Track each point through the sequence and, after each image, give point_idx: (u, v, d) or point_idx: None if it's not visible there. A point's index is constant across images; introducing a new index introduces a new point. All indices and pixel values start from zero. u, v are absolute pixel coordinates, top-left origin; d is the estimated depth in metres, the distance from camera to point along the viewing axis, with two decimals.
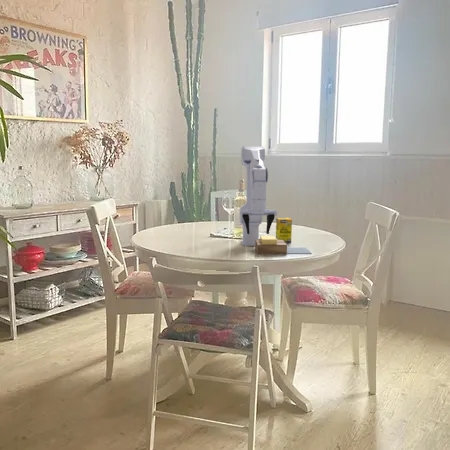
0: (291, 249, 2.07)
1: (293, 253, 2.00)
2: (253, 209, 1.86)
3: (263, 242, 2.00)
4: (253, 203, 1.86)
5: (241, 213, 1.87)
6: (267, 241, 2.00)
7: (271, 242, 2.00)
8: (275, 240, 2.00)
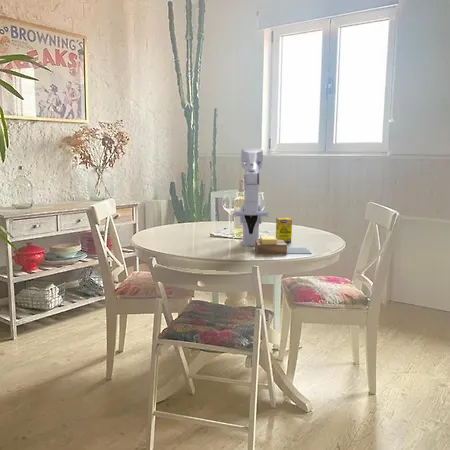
0: (291, 249, 2.07)
1: (293, 253, 2.00)
2: (246, 210, 1.99)
3: (263, 242, 2.00)
4: (246, 205, 1.99)
5: (235, 214, 2.00)
6: (267, 241, 2.00)
7: (271, 242, 2.00)
8: (275, 240, 2.00)
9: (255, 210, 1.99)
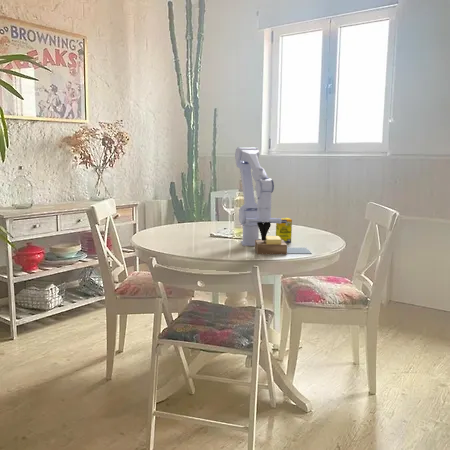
0: (291, 249, 2.07)
1: (293, 253, 2.00)
2: (259, 217, 2.00)
3: (267, 242, 2.00)
4: (259, 212, 2.00)
5: (248, 221, 2.01)
6: (271, 241, 2.00)
7: (275, 242, 2.00)
8: (279, 240, 2.00)
9: (268, 217, 2.00)
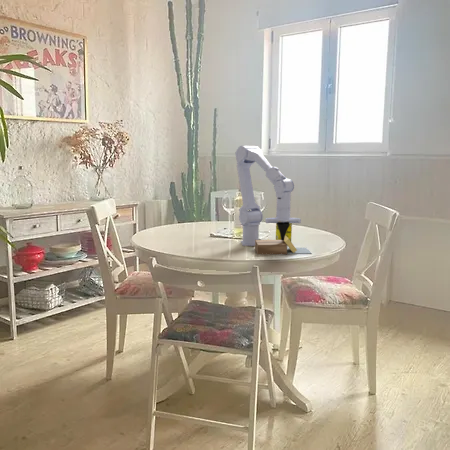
0: None
1: (293, 253, 2.00)
2: (278, 217, 2.00)
3: (286, 241, 2.00)
4: (278, 212, 2.00)
5: (267, 221, 2.01)
6: (290, 244, 2.00)
7: (291, 247, 2.00)
8: (295, 249, 2.01)
9: (287, 217, 2.00)
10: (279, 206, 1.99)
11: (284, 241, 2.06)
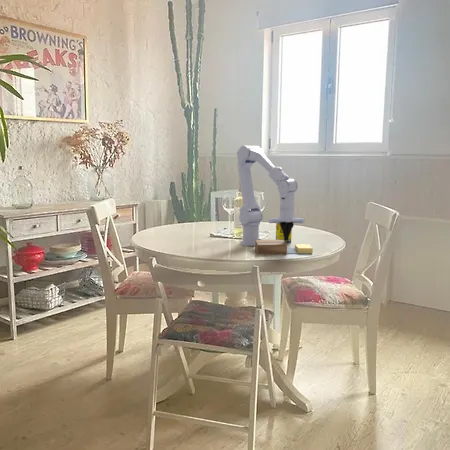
0: (291, 249, 2.07)
1: (293, 253, 2.00)
2: (282, 217, 2.00)
3: (311, 249, 2.01)
4: (282, 212, 2.00)
5: (271, 221, 2.01)
6: (307, 250, 2.01)
7: (303, 249, 2.01)
8: (299, 251, 2.01)
9: (291, 217, 2.00)
10: (283, 206, 1.99)
11: (306, 245, 2.07)
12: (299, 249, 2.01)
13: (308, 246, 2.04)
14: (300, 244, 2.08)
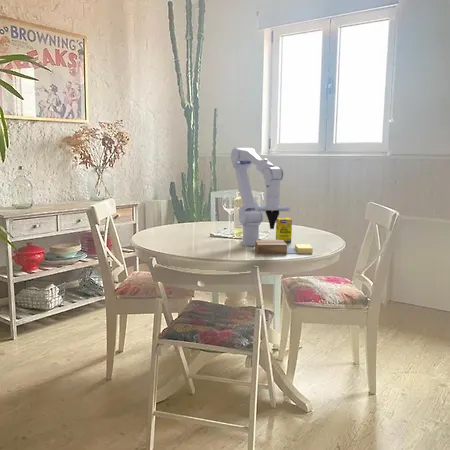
0: (291, 249, 2.07)
1: (293, 253, 2.00)
2: (268, 205, 1.99)
3: (311, 249, 2.01)
4: (268, 200, 1.99)
5: (256, 209, 2.00)
6: (307, 250, 2.01)
7: (303, 249, 2.01)
8: (299, 251, 2.01)
9: (277, 205, 1.99)
10: (267, 194, 1.99)
11: (306, 245, 2.07)
12: (299, 249, 2.01)
13: (308, 246, 2.04)
14: (300, 244, 2.08)
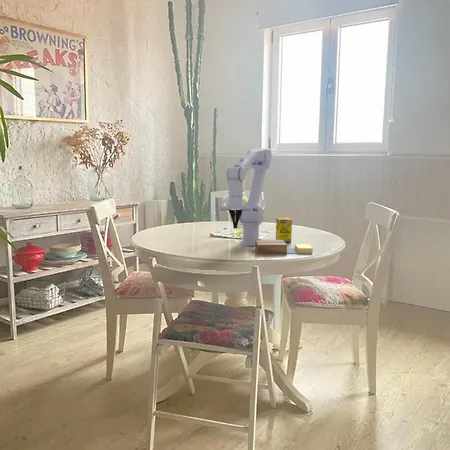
0: (291, 249, 2.07)
1: (293, 253, 2.00)
2: (230, 205, 2.00)
3: (311, 249, 2.01)
4: (230, 199, 1.99)
5: (219, 209, 2.00)
6: (307, 250, 2.01)
7: (303, 249, 2.01)
8: (299, 251, 2.01)
9: (239, 204, 1.99)
10: None
11: (306, 245, 2.07)
12: (299, 249, 2.01)
13: (308, 246, 2.04)
14: (300, 244, 2.08)
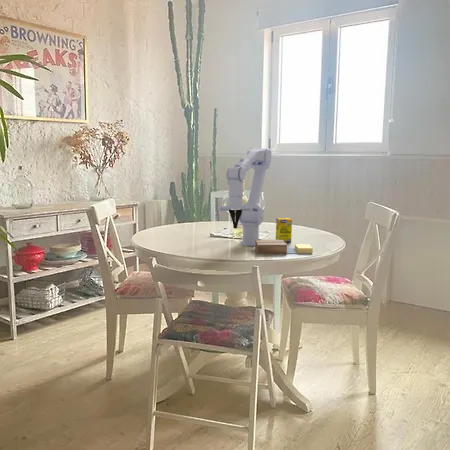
0: (291, 249, 2.07)
1: (293, 253, 2.00)
2: (230, 205, 2.00)
3: (311, 249, 2.01)
4: (230, 199, 1.99)
5: (219, 209, 2.00)
6: (307, 250, 2.01)
7: (303, 249, 2.01)
8: (299, 251, 2.01)
9: (239, 204, 1.99)
10: None
11: (306, 245, 2.07)
12: (299, 249, 2.01)
13: (308, 246, 2.04)
14: (300, 244, 2.08)
